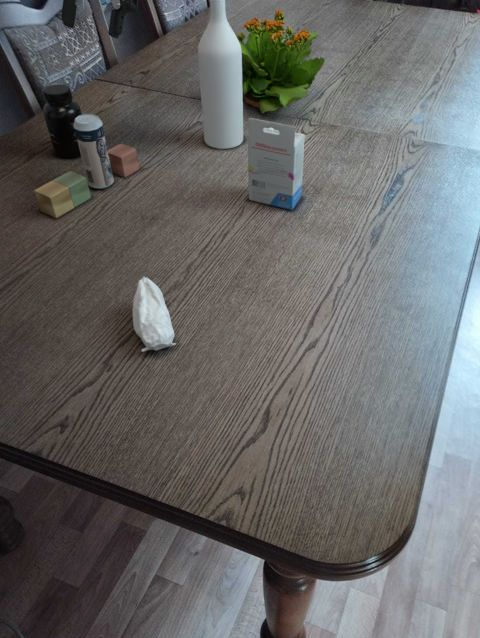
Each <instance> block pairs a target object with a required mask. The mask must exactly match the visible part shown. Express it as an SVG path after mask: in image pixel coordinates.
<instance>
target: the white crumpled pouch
mask: <svg viewBox="0 0 480 638" xmlns="http://www.w3.org/2000/svg"><path fill="white" fill-rule="evenodd" d="M131 311H132V323H133V329H134V332H135V334H136V336H137V337H139V338H140V340H141V342H142V343H143V344H144V346H145V347H144V348H142V349H141V352H142V353H143V352H146V351H156V352H157V351H159V350H162V349H165V348H171V347H174V346H176V345H177V342H173V341H174V339H175V331H174V328H173V323H172V319H171V315H170V312H169V309H168V307H167V305H166V301H165V298H164V295H163V292H162V290H161V289H160V287H159V286H158V285H157V284H156V283H155V282H154V281H152V280H151V279H149V277H146V276H143V277H142V278H141V279H139V280H138V284H137V286H136V291H135V292H134V296H133V301H132V310H131Z"/></svg>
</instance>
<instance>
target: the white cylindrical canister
mask: <svg viewBox="0 0 480 638" xmlns="http://www.w3.org/2000/svg"><path fill="white" fill-rule="evenodd" d="M103 126H104V125H103V121H102V120H101V118H100V117H99V115H97V114H94V113H83V114H82V115H79V116H78V117H76V118H75V122H74V128H75V133H76V137H77V141H78V145H79V149H80V153H81V156H80V157H81V161H82V165H83V169H84V173H85V177H86V179H87V183H88V187H90V188H93V189H97V190H101V189H107V188H109V187H110V186H112V184H114V181H115V178H114V176H113V173H112V170H111V165H110V160H109V155H108V150H109V149H108V146H107V141H106V136H105V132H104V127H103Z"/></svg>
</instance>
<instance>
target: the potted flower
mask: <svg viewBox="0 0 480 638" xmlns="http://www.w3.org/2000/svg"><path fill="white" fill-rule="evenodd" d="M274 12H275V13H274V18H273V19H271V20H269V19H268V18H267V19H263V20H262V21H261V19H260V18H257V17H253V18H252V20H250V21H249V20H247V21H245V22H244V25H243V26H242V29H246V30H247V32H248V37H247V40H246V42H245V38H246V34H245V33H244V31H243V30H242V31H241V32H240V33H236V37H237V39H238V41H239V43H240V45H241V52H242V93H243V100H244V102H246V103H247V104H248V105H250V106H252V107H254V108H259V111H260V113H261V114H262V115H264V114H265V113H268V112H274V111H277V110H278V109H280V106H282V107H283V108H284V109H286V108H288V107H289V106H290V105H292V104H293V103H295V102H297V101H299V100H301V99H304V98H306V97H308V96H307V95H309V92H310V91H309V90H308V89H310V88H311V85H313V81H315V80H316V76H317V75H318V74H319V72H320V71H321V69H322V68H323V66H324V65H325V62H326V61H325V58H324V57H320V58H319V57H318V56H317V57H314V58H309V57H310V54H311V53H312V51H313V49H312V47H311V46H312V45H313V42H312V41H313V40H314V39H315V40H316V38H318V37H319V36H320V34H319V33H318V32H316V31H315V32H312V30H310V31H309V29H308V28H305V29H302V30H299V32H298V33H297V32H294V31H293V28H292V27H291V25H287V27H286V28H285V26H284V25H285V24H286V22H285V21H284V19H285V18H286V16H285V14H284V10H283V9H280V10H279V9H276V10H274ZM284 34H285V36H284ZM306 58H309V59H306Z"/></svg>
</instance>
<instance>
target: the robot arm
mask: <svg viewBox="0 0 480 638" xmlns="http://www.w3.org/2000/svg"><path fill="white" fill-rule="evenodd" d="M78 1H79V0H62V6H61V7H62V9H61V15H60V16H61V21H62V24H63V26H66V27H67V28H69V29H74V28H75V23H76V15H77V9H78V4H77V2H78ZM110 2H111V4H112V7H113V8H112V9H111V10H110V11H111V12H110V18H109V25H108V30H107V33H108V35H109V36H110V37H111V38H113V39H119V37H120V36H121V35H122V33H123V28H124V22H125V16H126V14H128V13H137V11H139V10H138V9H139V0H110Z"/></svg>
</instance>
